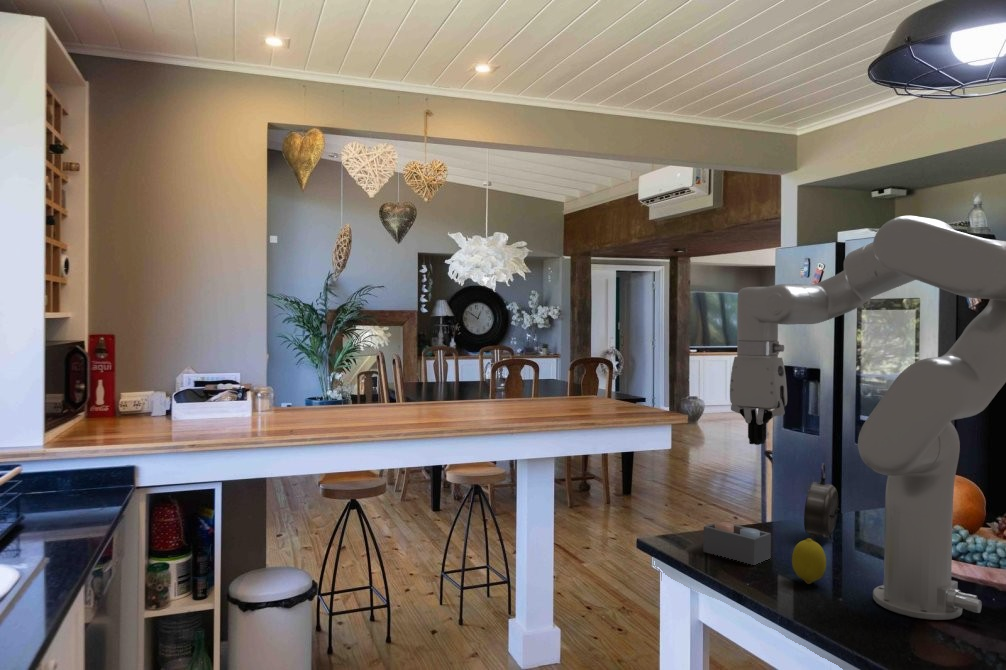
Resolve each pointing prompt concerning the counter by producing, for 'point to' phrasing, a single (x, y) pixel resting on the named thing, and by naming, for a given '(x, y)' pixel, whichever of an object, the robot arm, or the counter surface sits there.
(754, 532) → the pale blue cube
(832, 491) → the alarm clock
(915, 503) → the robot arm
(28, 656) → the counter surface
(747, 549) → the grey storage bin
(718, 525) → the peach rounded cube
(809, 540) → the lemon
